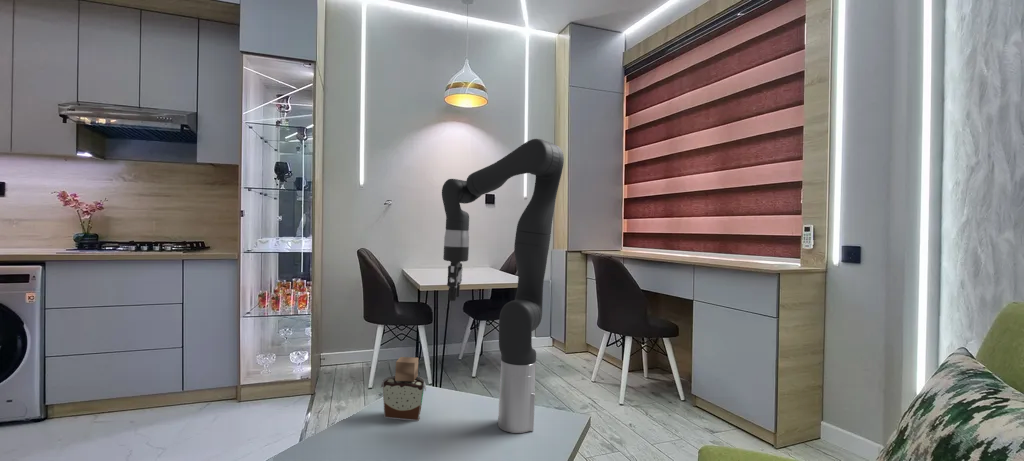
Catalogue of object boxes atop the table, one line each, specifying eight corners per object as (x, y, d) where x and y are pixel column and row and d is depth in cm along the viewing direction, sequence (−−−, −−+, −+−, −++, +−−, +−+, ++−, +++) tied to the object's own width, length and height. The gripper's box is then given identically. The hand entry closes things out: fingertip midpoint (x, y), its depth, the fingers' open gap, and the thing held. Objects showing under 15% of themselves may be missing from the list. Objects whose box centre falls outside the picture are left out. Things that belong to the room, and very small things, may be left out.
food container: (430, 412, 125) (432, 376, 125) (423, 421, 119) (425, 383, 119) (387, 408, 126) (389, 372, 126) (379, 417, 120) (380, 379, 120)
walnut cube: (417, 375, 125) (418, 357, 125) (413, 381, 120) (414, 362, 120) (399, 374, 125) (400, 356, 125) (395, 380, 120) (395, 361, 120)
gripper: (466, 246, 130) (463, 302, 130) (470, 245, 144) (468, 296, 144) (440, 245, 130) (437, 301, 130) (447, 244, 144) (445, 294, 144)
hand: (453, 298), depth 137 cm, fingers open, 8 cm apart
